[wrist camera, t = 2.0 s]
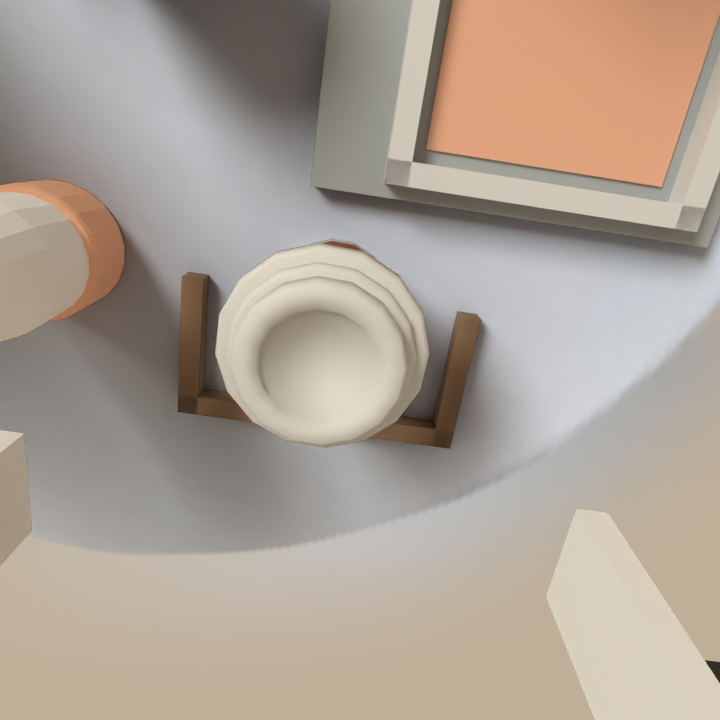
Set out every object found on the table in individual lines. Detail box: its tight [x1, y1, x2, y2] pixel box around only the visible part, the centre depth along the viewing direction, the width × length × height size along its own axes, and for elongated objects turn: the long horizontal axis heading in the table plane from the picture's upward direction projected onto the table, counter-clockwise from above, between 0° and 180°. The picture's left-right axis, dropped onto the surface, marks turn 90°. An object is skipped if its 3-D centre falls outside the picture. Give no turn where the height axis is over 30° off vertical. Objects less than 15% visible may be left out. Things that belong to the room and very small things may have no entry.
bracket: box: [178, 272, 481, 448], centre depth 34 cm, size 17×9×1 cm, turn 82°
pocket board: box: [310, 0, 720, 248], centre depth 26 cm, size 22×18×3 cm
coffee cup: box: [215, 239, 430, 448], centre depth 27 cm, size 9×9×12 cm
